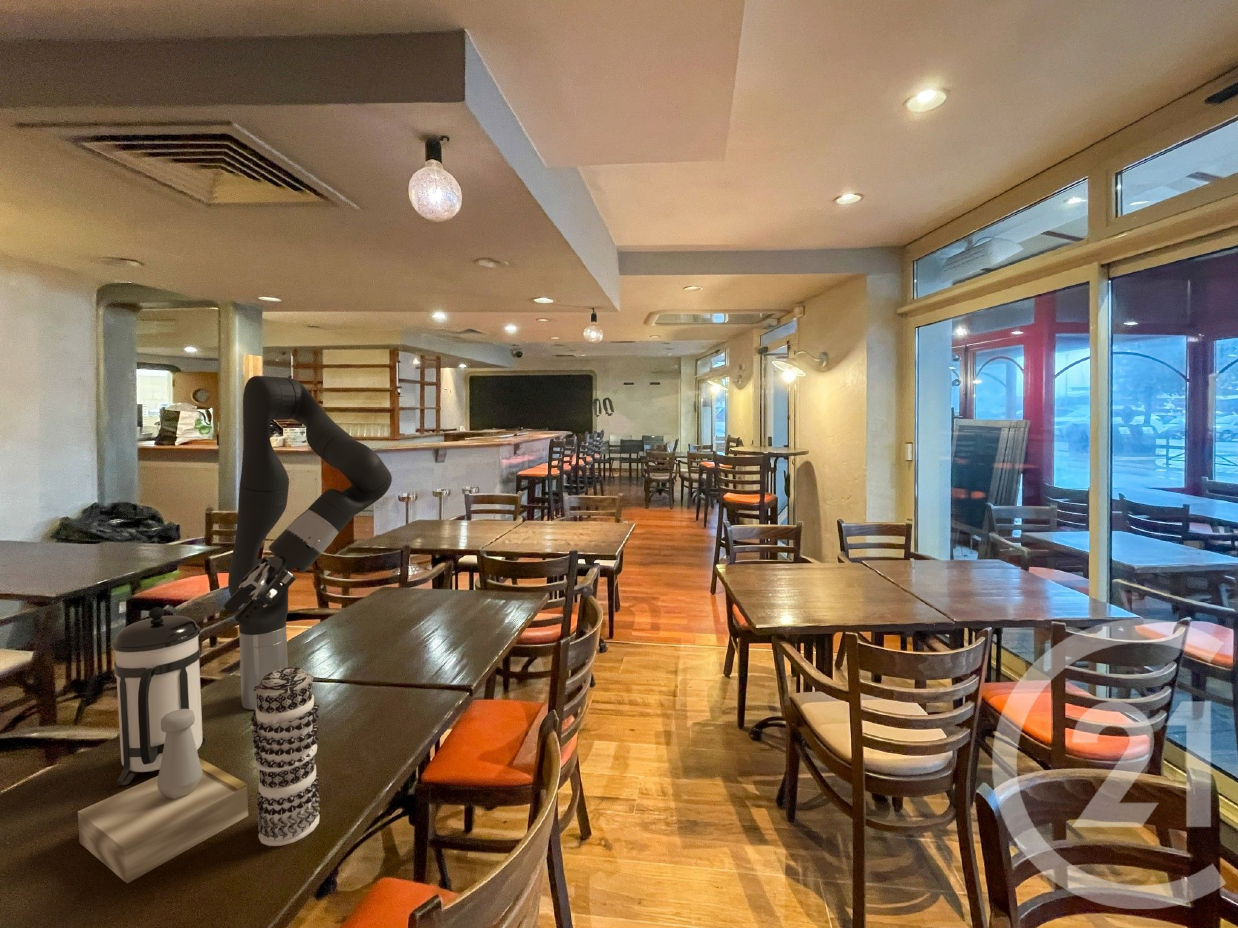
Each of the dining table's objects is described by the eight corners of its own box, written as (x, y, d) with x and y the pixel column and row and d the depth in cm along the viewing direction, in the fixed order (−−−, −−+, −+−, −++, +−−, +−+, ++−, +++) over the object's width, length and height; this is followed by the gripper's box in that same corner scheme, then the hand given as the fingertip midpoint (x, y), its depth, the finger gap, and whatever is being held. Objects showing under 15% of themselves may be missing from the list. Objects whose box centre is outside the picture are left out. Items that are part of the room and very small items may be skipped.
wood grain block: (79, 842, 87) (77, 808, 87) (197, 785, 101) (196, 756, 101) (127, 883, 80) (125, 846, 79) (248, 815, 93) (246, 783, 93)
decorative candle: (294, 851, 86) (288, 689, 84) (240, 843, 87) (234, 684, 86) (335, 811, 95) (330, 663, 93) (285, 804, 96) (280, 659, 95)
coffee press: (85, 780, 103) (75, 616, 101) (181, 735, 118) (174, 592, 116) (145, 803, 96) (136, 629, 95) (238, 753, 111) (232, 602, 109)
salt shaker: (178, 805, 88) (174, 723, 88) (148, 800, 89) (143, 720, 89) (212, 782, 94) (208, 705, 93) (183, 778, 95) (179, 702, 94)
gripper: (277, 522, 108) (205, 595, 100) (300, 533, 98) (222, 614, 90) (308, 546, 112) (242, 617, 105) (334, 558, 102) (262, 638, 94)
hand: (233, 615), depth 97 cm, fingers open, 8 cm apart
